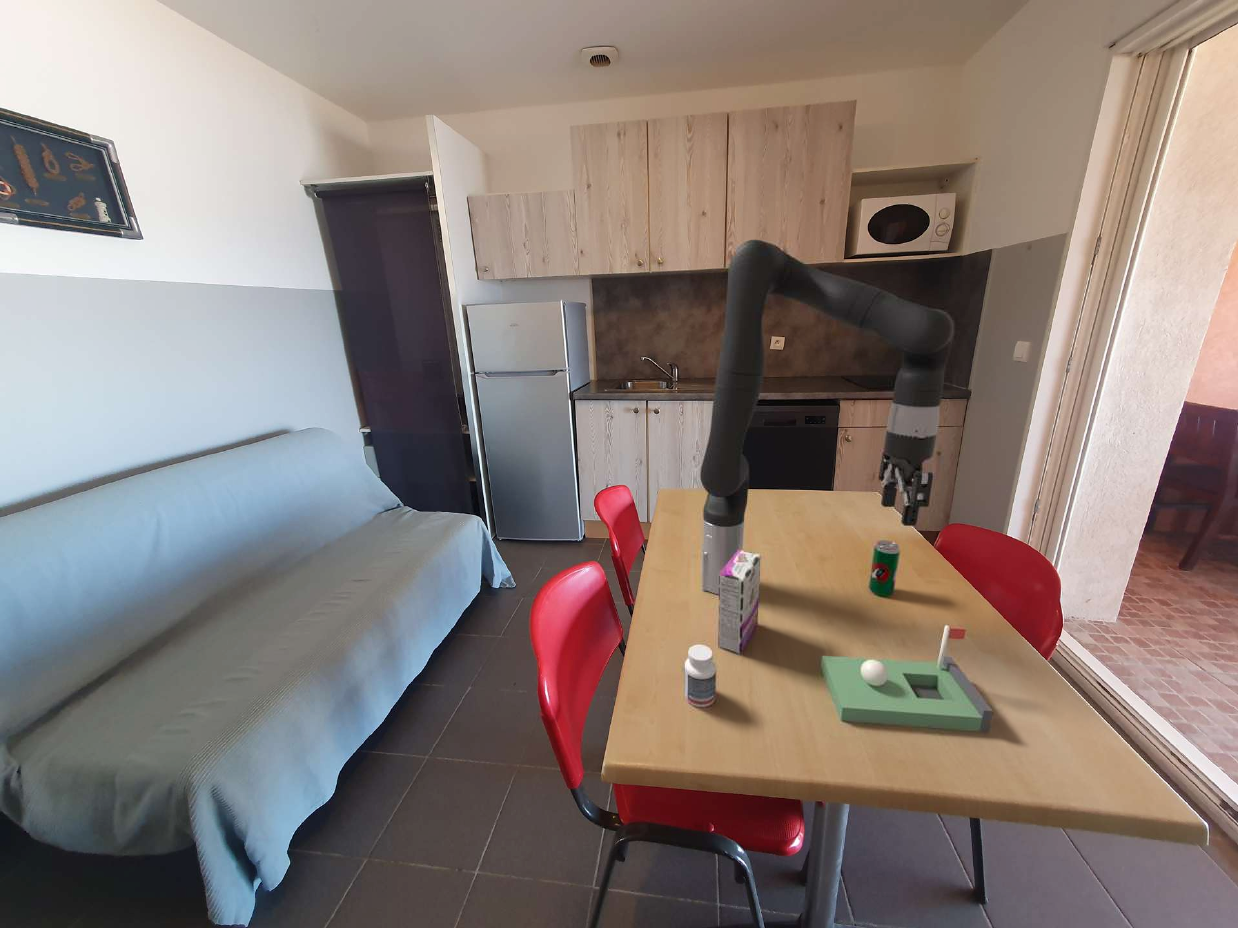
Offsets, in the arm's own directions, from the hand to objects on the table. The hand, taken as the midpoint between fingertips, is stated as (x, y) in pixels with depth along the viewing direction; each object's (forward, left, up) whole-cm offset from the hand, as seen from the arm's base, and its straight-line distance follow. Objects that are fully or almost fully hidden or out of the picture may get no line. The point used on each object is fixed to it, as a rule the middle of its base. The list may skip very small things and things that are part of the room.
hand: (897, 515), depth 88 cm
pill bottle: (-36, -20, -26) cm, 49 cm away
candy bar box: (-28, -3, -26) cm, 38 cm away
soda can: (+6, +16, -26) cm, 31 cm away
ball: (-7, -17, -21) cm, 28 cm away
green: (-4, -17, -26) cm, 31 cm away
